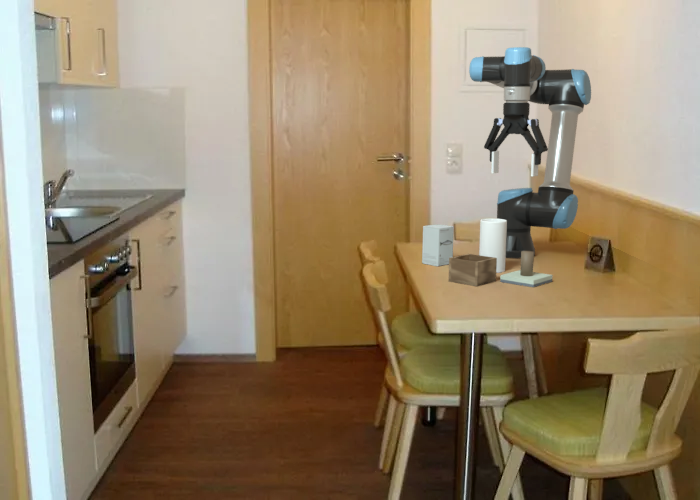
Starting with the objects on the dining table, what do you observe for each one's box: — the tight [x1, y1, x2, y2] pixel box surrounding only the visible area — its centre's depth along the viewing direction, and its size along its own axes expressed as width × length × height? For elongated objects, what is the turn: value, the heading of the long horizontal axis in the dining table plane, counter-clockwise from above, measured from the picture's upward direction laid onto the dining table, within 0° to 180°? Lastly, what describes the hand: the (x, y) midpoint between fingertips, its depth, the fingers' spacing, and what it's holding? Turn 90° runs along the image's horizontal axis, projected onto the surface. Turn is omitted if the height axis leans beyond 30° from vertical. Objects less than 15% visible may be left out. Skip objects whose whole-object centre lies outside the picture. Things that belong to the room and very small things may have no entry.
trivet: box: [499, 278, 553, 288], centre depth 245 cm, size 11×11×1 cm
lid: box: [500, 251, 553, 285], centre depth 244 cm, size 11×11×8 cm
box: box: [448, 253, 497, 287], centre depth 245 cm, size 10×10×7 cm
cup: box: [478, 218, 507, 274], centre depth 261 cm, size 8×8×16 cm
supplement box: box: [421, 224, 455, 267], centre depth 272 cm, size 7×7×13 cm
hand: (514, 174), depth 246 cm, fingers open, 13 cm apart
